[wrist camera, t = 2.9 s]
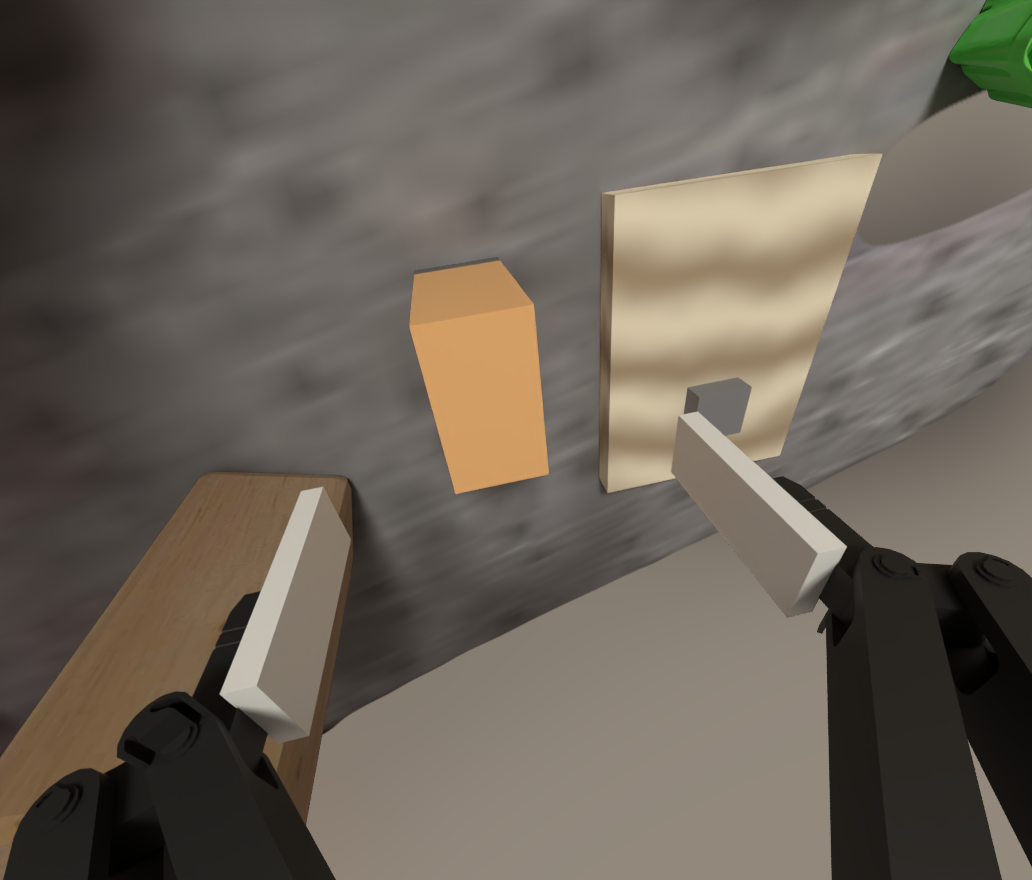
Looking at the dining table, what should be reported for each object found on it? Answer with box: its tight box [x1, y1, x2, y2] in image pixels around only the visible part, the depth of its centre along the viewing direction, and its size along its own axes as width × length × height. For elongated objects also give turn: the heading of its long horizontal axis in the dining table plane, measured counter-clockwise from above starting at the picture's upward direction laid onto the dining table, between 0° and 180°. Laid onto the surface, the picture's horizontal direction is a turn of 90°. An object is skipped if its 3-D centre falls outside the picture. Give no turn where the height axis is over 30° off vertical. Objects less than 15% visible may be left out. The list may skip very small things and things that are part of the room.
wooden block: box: [0, 471, 353, 880], centre depth 24 cm, size 10×10×20 cm
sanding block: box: [409, 257, 549, 494], centre depth 23 cm, size 9×5×10 cm, turn 7°
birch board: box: [599, 154, 882, 493], centre depth 30 cm, size 22×16×2 cm
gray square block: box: [684, 377, 752, 436], centre depth 30 cm, size 4×4×2 cm
